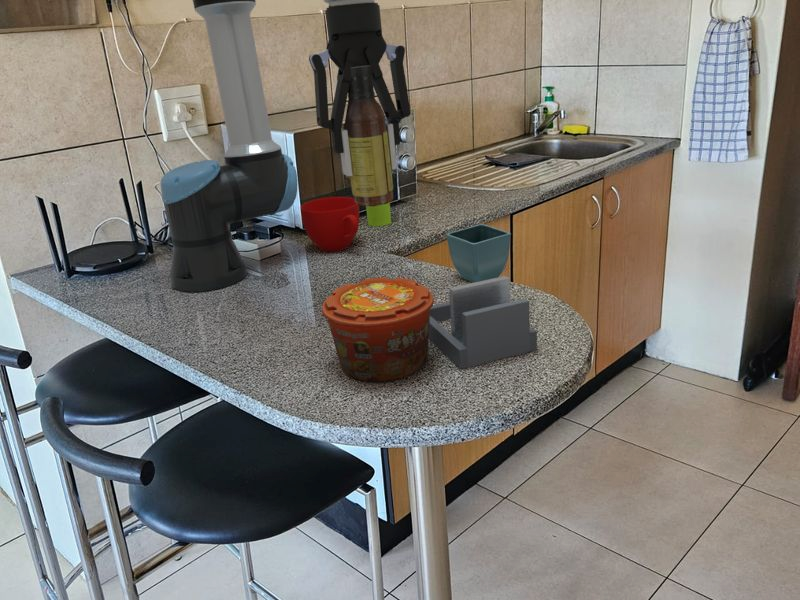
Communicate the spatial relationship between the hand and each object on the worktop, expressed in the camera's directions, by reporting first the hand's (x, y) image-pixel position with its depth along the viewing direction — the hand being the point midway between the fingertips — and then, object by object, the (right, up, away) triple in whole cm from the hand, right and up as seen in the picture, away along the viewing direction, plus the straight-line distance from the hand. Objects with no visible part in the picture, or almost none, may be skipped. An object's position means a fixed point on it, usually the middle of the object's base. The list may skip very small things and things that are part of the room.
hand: (369, 170), depth 103 cm
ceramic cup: (-9, -8, +52) cm, 54 cm away
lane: (+16, -25, +5) cm, 30 cm away
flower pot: (+20, -15, +28) cm, 37 cm away
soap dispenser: (0, 0, +69) cm, 69 cm away
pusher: (+17, -26, +2) cm, 31 cm away
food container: (+2, -29, -1) cm, 29 cm away
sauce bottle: (0, -5, +2) cm, 5 cm away
